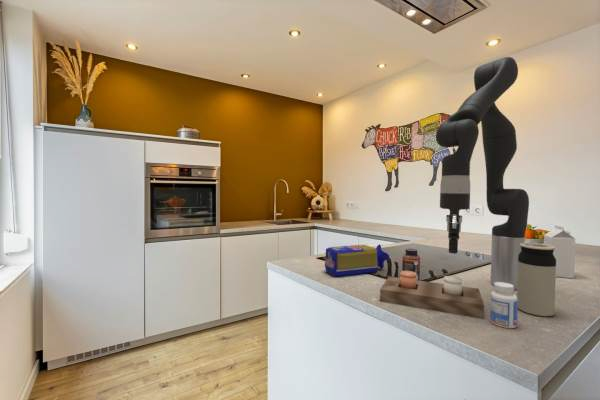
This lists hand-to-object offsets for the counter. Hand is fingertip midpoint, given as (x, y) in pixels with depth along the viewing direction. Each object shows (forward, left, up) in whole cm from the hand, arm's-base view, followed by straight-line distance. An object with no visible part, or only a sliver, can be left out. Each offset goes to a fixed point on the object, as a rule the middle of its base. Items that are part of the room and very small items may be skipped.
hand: (453, 252), depth 83 cm
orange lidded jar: (+12, 0, -12) cm, 17 cm away
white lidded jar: (0, 0, -12) cm, 12 cm away
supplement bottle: (+13, -18, -15) cm, 27 cm away
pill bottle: (-11, +8, -15) cm, 20 cm away
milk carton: (-37, -51, -15) cm, 65 cm away
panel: (+6, 0, -15) cm, 16 cm away
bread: (+34, -20, -15) cm, 42 cm away
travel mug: (-20, -5, -15) cm, 26 cm away
